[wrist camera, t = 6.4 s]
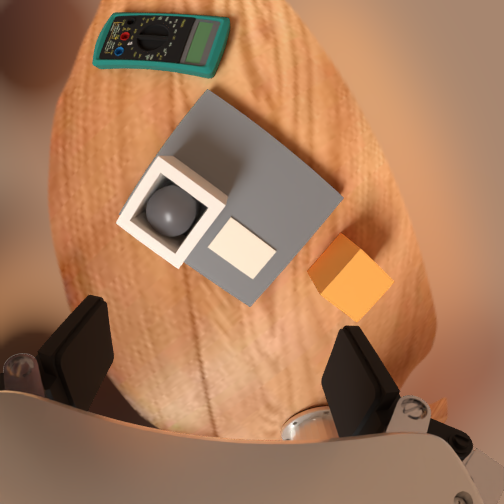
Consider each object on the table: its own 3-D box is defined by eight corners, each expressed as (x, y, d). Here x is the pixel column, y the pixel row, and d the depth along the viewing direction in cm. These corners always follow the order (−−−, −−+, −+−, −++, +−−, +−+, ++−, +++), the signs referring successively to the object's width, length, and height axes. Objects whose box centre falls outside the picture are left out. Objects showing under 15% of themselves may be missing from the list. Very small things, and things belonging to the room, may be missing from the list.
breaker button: (209, 199, 28) (204, 206, 24) (184, 234, 29) (176, 246, 25) (174, 173, 26) (164, 176, 23) (150, 209, 27) (137, 217, 24)
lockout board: (339, 195, 30) (365, 207, 23) (249, 300, 34) (252, 334, 27) (208, 92, 26) (200, 74, 19) (123, 211, 29) (96, 226, 23)
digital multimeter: (115, 19, 22) (106, 10, 19) (233, 26, 24) (232, 15, 21) (96, 70, 24) (84, 64, 21) (215, 81, 26) (213, 73, 23)
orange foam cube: (372, 261, 33) (394, 281, 27) (340, 297, 34) (356, 322, 29) (340, 232, 32) (360, 248, 26) (306, 271, 33) (319, 294, 27)
